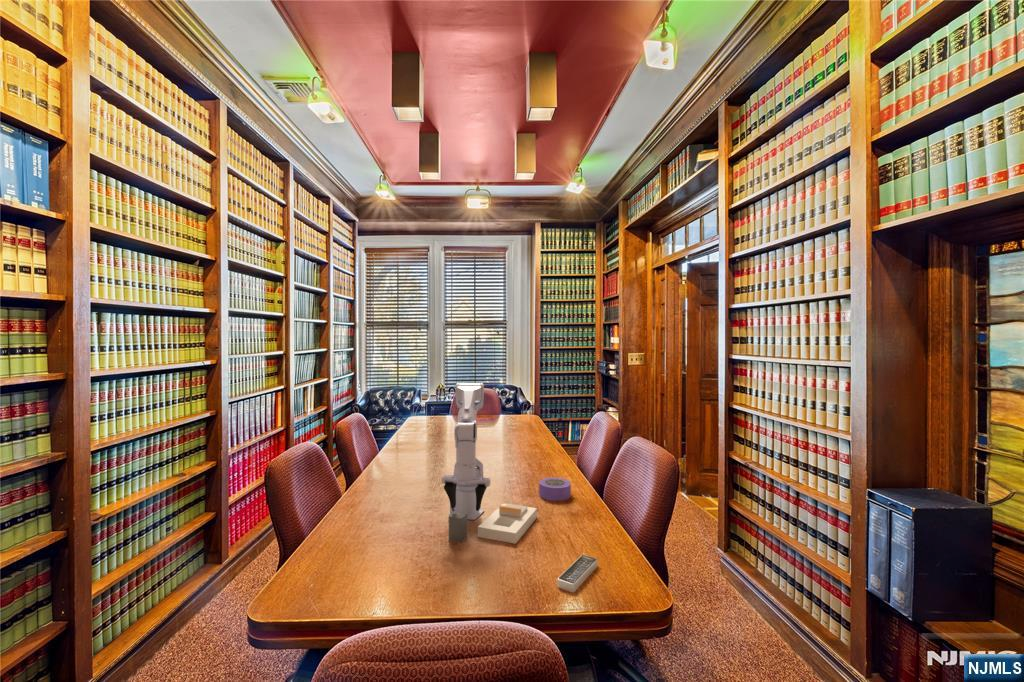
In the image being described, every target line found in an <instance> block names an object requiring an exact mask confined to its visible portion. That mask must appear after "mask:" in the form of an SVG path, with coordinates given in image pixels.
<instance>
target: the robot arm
mask: <svg viewBox="0 0 1024 682" xmlns="http://www.w3.org/2000/svg"><path fill="white" fill-rule="evenodd" d="M454 395H455V396H454V397H455V405H456V408H457V409H459V410H458V412H457V413H458V414H457V423H455V425H454V433H453V436H454V445H455V446H454V447H455V449H456V450H455V451H456V452H455V456H456V457H455V461H456V462H455V464H454V467H453V474H449V475H447V474H445V475H442V476H441V484H444V486H443V489H444V491H445V494H446V495H447V497H448V499H449V514H448V517H449V516H450V515H452V514H453V513H454V512H461V513H467V520H472V521H475V520H476V519H477V518H479V517H480V515H482V514H483V513H484V512H485V509H481V505H482V501H483V497H484V495H485V492H486V490H487V488H488V487H490V486H491V478H490V477H484V464H483V462H482V461H481V460H479V459H478V458H477V457H476V448H477V447H476V446H477V445H476V444H477V439H478V424H477V414H478V411H479V410H480V409H482V408H483V407H484V399H485V398H484V396H485V384H484V383H483V382H479V383H478V382H460V383H459V382H456V384H455V387H454Z"/></svg>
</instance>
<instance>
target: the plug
mask: <svg viewBox="0 0 1024 682" xmlns="http://www.w3.org/2000/svg"><path fill="white" fill-rule="evenodd" d="M467 538H468V519H467V513H461V512H454V513H453V514H452V515H450V516H449V515H448V541H450V542H456V543H460V544H461V543H463V541H465V539H467Z"/></svg>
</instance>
